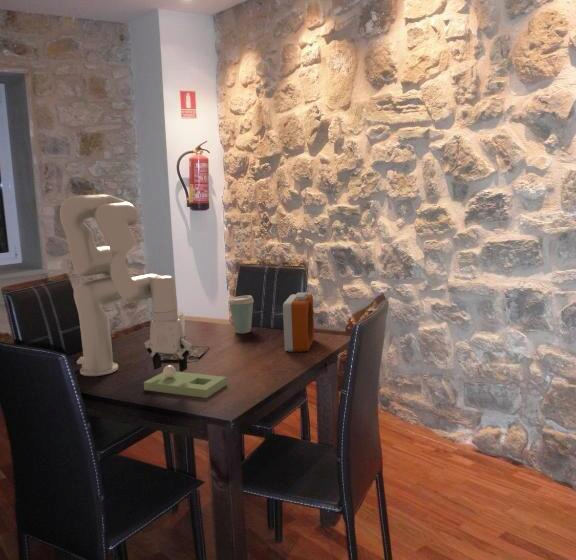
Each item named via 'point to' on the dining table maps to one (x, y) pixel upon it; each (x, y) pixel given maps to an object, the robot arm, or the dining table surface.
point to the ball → (169, 371)
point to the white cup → (182, 320)
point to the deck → (186, 384)
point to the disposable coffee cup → (242, 313)
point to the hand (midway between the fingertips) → (170, 369)
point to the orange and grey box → (298, 322)
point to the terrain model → (192, 357)
